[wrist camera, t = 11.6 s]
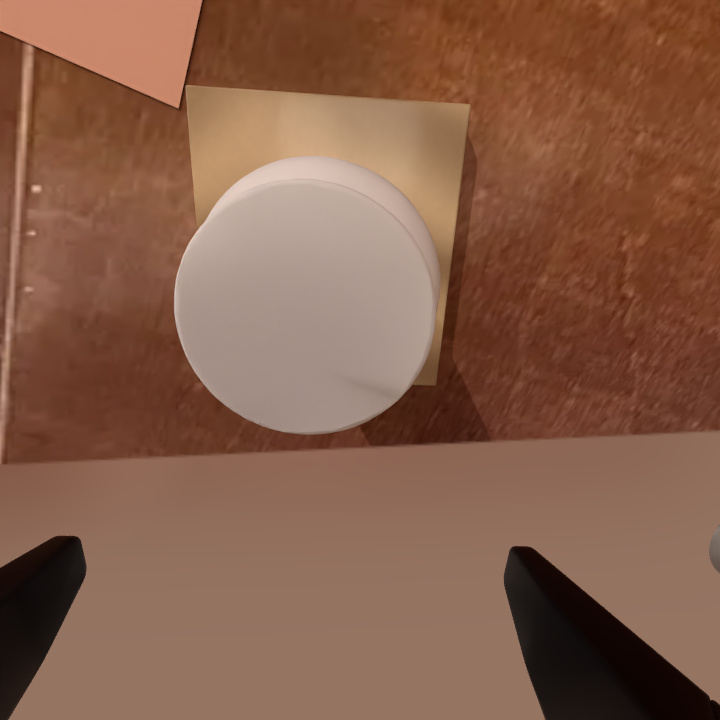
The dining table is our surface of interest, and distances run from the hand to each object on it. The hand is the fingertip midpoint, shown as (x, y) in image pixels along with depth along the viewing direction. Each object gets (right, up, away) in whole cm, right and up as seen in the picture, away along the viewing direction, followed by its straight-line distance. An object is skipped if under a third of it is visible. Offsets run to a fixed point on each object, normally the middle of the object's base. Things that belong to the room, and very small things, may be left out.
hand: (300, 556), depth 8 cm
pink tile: (-10, +24, +5) cm, 26 cm away
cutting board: (0, +9, +10) cm, 14 cm away
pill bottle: (0, +9, +9) cm, 13 cm away
